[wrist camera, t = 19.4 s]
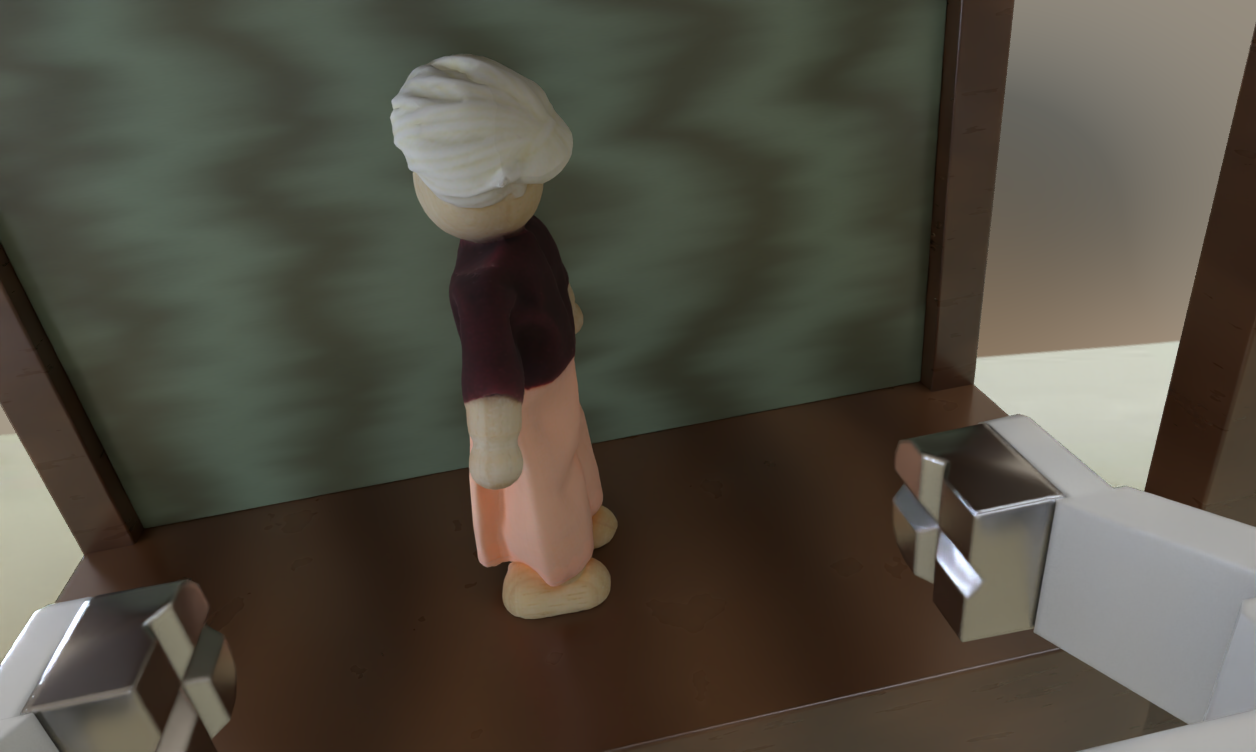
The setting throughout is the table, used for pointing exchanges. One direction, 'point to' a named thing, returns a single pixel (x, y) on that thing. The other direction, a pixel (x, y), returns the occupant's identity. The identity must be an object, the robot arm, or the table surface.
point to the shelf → (604, 360)
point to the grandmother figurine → (511, 326)
